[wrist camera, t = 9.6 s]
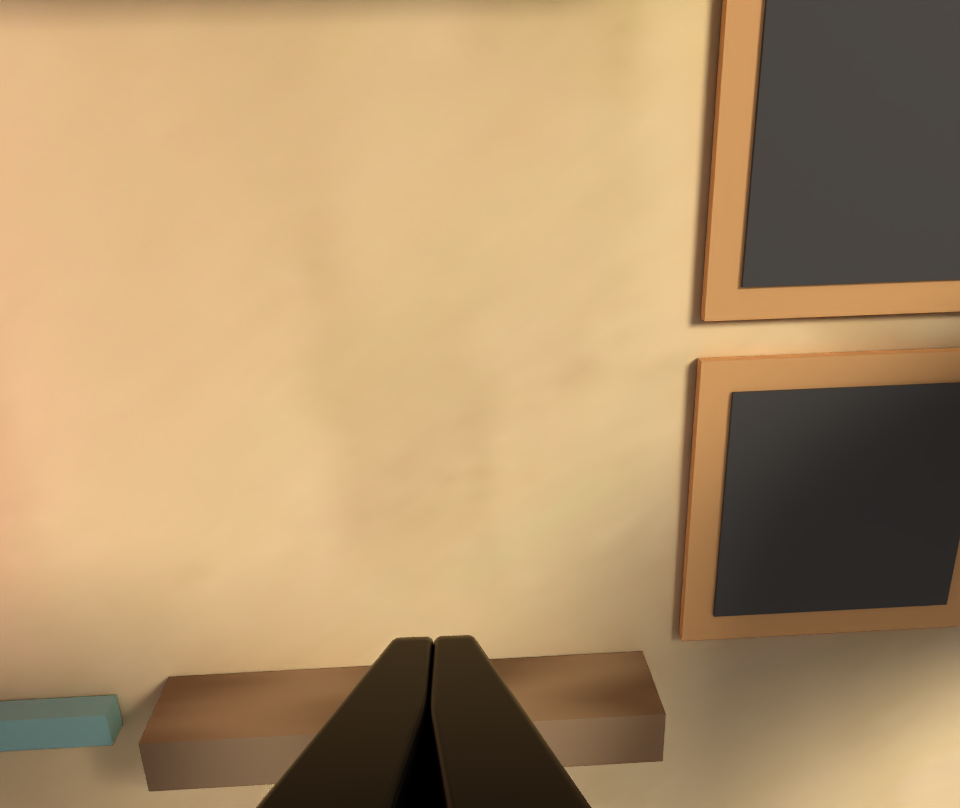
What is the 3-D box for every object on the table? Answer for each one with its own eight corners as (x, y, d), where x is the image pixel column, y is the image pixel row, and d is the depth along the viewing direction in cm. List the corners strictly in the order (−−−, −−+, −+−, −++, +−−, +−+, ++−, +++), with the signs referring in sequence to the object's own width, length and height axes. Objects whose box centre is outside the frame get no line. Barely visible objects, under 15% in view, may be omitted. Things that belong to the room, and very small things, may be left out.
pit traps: (1105, -70, 17) (1120, -73, 17) (961, 619, 23) (970, 627, 23) (726, -62, 17) (733, -65, 17) (678, 634, 23) (682, 643, 23)
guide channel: (684, -176, 16) (725, -221, 14) (639, 694, 24) (662, 761, 21) (8, -166, 16) (-66, -210, 14) (177, 720, 23) (148, 791, 21)
